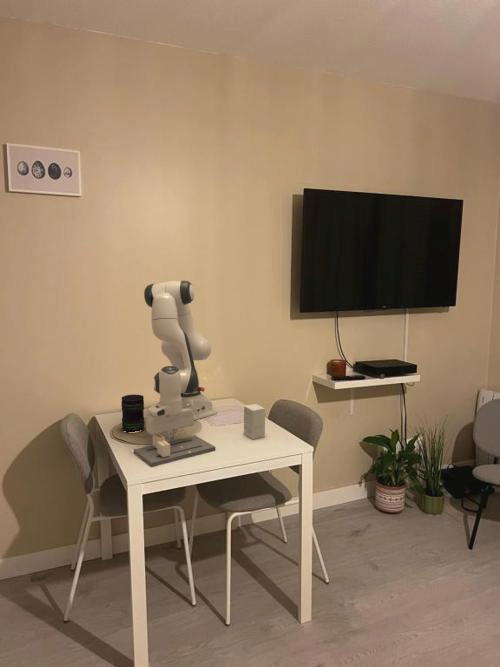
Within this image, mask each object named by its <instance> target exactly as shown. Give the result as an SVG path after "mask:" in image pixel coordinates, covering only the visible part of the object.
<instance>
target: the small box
mask: <svg viewBox="0 0 500 667" xmlns="http://www.w3.org/2000/svg"><path fill="white" fill-rule="evenodd" d="M265 432H266V408H264V407H263V406H261V405H259V404H256V403H253V404H248V405H247V404H246V405H244V406H243V435H245V436H246V437H248V438H250V439H251V440H257V439H258V440H259V439H263V438H265V437H266V433H265Z"/></svg>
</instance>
